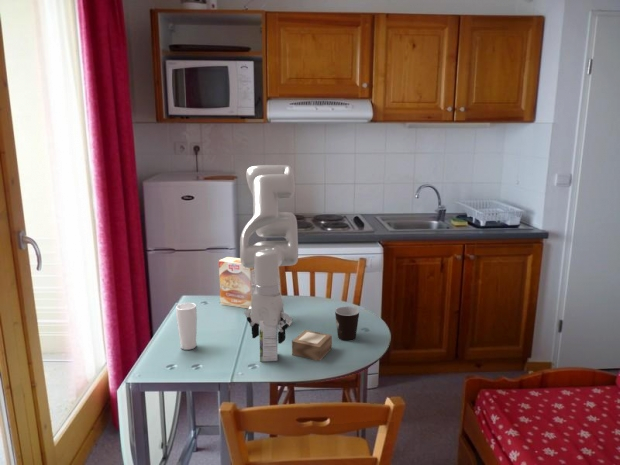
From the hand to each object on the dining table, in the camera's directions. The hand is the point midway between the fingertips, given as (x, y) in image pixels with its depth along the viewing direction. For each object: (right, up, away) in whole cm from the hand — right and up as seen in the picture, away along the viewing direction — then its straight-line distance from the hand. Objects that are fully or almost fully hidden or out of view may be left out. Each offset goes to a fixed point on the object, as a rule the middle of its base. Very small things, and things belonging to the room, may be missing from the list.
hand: (268, 339), depth 159 cm
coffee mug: (+27, -3, +18) cm, 33 cm away
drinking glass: (-28, -5, +10) cm, 30 cm away
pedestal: (+14, -5, +6) cm, 16 cm away
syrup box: (0, -7, +2) cm, 7 cm away
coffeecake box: (-16, +4, +50) cm, 53 cm away
